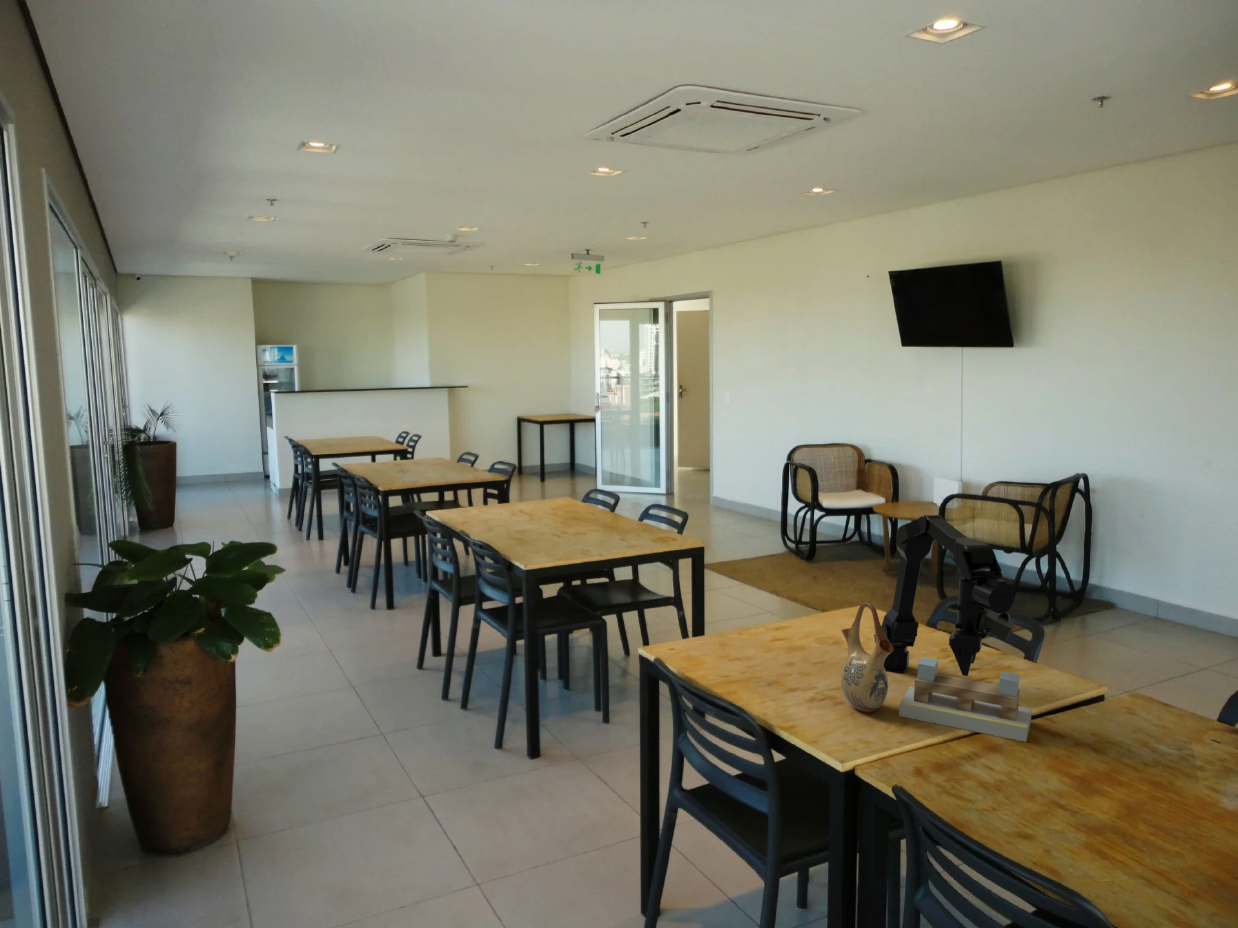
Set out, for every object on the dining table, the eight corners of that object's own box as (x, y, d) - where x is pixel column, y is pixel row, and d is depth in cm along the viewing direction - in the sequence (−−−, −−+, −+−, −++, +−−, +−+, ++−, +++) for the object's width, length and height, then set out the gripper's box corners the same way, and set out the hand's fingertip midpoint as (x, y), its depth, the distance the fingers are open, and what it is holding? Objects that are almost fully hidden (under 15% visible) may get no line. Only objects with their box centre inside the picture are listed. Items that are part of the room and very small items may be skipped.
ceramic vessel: (825, 698, 205) (829, 594, 202) (856, 693, 209) (861, 591, 206) (870, 725, 190) (875, 614, 187) (903, 719, 194) (909, 610, 191)
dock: (899, 715, 196) (899, 702, 195) (909, 698, 206) (910, 685, 206) (1026, 741, 183) (1027, 727, 182) (1030, 721, 193) (1031, 708, 193)
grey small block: (917, 678, 196) (918, 663, 196) (921, 671, 201) (922, 657, 200) (933, 681, 195) (934, 666, 194) (937, 674, 199) (938, 659, 199)
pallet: (913, 701, 196) (914, 679, 196) (919, 691, 202) (920, 670, 201) (1015, 720, 186) (1016, 698, 186) (1018, 710, 192) (1019, 688, 191)
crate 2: (998, 693, 188) (999, 678, 188) (1001, 686, 192) (1002, 671, 192) (1016, 697, 186) (1017, 681, 186) (1018, 689, 191) (1019, 674, 190)
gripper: (1007, 616, 179) (1003, 689, 181) (1016, 596, 195) (1012, 663, 197) (950, 608, 184) (946, 679, 186) (963, 589, 201) (959, 654, 202)
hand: (968, 669), depth 193 cm, fingers open, 9 cm apart
